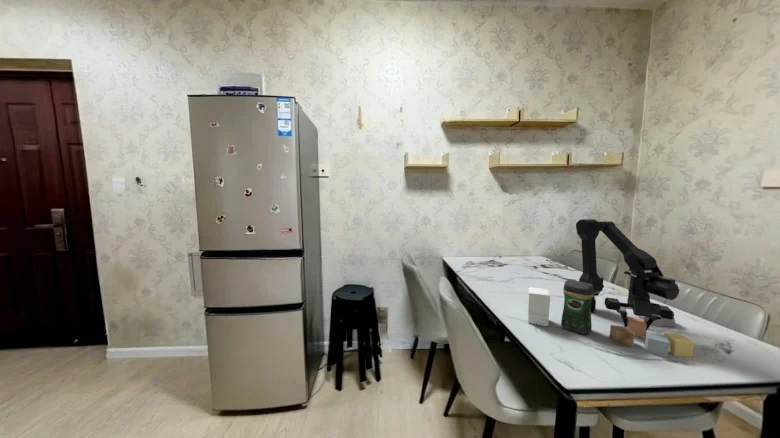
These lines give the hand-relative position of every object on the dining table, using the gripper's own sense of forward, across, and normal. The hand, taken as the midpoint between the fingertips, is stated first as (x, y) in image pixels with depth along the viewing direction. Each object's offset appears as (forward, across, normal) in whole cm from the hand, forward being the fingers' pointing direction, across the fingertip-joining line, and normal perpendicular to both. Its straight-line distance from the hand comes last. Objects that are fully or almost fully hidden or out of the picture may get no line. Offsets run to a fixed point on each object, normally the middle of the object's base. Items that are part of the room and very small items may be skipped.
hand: (634, 329), depth 107 cm
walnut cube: (+1, -6, -11) cm, 13 cm away
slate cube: (+1, +3, -12) cm, 12 cm away
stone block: (+2, +9, +16) cm, 19 cm away
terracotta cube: (+1, 0, 0) cm, 1 cm away
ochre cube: (+1, +9, -9) cm, 13 cm away
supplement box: (+1, -32, -7) cm, 33 cm away
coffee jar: (+1, -19, -7) cm, 20 cm away
